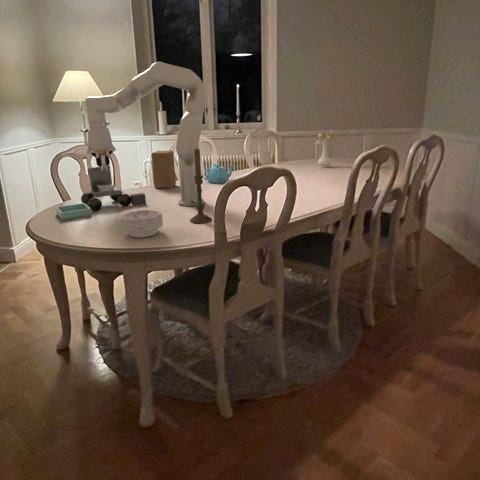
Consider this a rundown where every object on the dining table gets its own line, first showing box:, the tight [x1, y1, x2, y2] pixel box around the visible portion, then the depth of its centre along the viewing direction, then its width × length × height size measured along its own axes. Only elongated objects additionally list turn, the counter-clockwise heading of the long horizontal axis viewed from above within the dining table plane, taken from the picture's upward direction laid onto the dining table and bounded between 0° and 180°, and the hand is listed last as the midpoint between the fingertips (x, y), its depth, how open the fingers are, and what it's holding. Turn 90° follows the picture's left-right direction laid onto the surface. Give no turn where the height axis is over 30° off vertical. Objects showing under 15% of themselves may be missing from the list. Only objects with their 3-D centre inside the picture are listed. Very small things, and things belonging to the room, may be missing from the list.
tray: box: [55, 203, 93, 221], centre depth 190 cm, size 12×12×4 cm
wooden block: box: [150, 150, 177, 189], centre depth 242 cm, size 10×10×20 cm
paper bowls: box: [120, 209, 164, 239], centre depth 161 cm, size 15×15×8 cm
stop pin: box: [98, 150, 108, 173], centre depth 198 cm, size 4×4×10 cm
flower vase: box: [311, 129, 338, 169], centre depth 291 cm, size 13×18×25 cm
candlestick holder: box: [189, 146, 213, 225], centre depth 173 cm, size 9×9×30 cm
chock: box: [129, 192, 147, 207], centre depth 207 cm, size 4×6×5 cm, turn 122°
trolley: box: [80, 165, 132, 212], centre depth 203 cm, size 15×20×18 cm
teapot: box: [203, 162, 235, 184], centre depth 254 cm, size 15×15×10 cm
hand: (103, 165), depth 198 cm, fingers closed on stop pin, 3 cm apart
